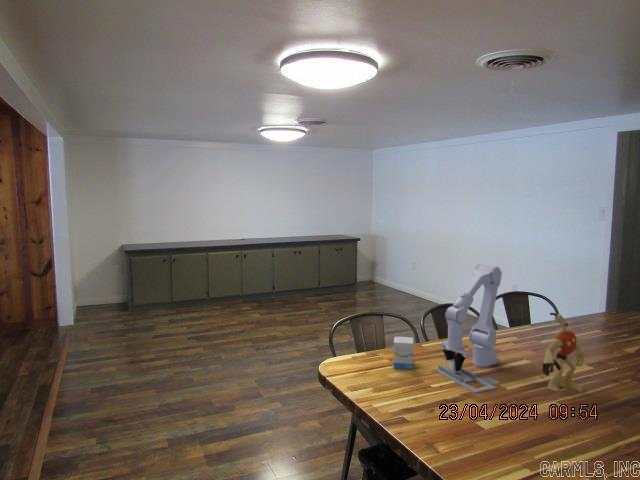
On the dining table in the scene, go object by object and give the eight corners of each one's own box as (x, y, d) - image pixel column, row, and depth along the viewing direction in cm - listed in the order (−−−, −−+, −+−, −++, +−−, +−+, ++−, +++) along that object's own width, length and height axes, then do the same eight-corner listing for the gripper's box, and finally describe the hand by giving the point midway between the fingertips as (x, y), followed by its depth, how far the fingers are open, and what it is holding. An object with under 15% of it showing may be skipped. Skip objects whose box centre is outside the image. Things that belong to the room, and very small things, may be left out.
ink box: (413, 369, 188) (413, 343, 187) (393, 368, 190) (393, 342, 189) (413, 362, 197) (413, 337, 195) (393, 361, 198) (394, 335, 197)
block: (454, 368, 183) (454, 358, 182) (461, 371, 179) (461, 362, 178) (446, 369, 181) (446, 360, 181) (453, 373, 177) (453, 363, 177)
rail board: (455, 370, 187) (455, 362, 187) (495, 392, 166) (496, 383, 166) (435, 374, 183) (435, 365, 183) (474, 397, 162) (475, 388, 162)
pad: (488, 380, 177) (488, 376, 177) (499, 386, 172) (499, 382, 171) (478, 382, 175) (478, 378, 175) (489, 388, 170) (490, 384, 169)
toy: (550, 404, 157) (554, 321, 154) (528, 394, 164) (532, 315, 161) (589, 390, 167) (594, 313, 164) (568, 381, 175) (571, 307, 172)
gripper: (435, 332, 184) (435, 363, 185) (459, 343, 170) (458, 376, 172) (449, 330, 186) (448, 361, 188) (473, 340, 173) (472, 374, 174)
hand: (454, 368), depth 180 cm, fingers closed on block, 4 cm apart
